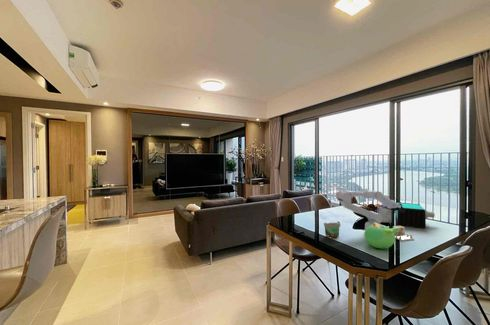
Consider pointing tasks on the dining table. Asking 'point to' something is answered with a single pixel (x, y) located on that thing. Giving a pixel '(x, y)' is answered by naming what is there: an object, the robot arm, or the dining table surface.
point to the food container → (332, 229)
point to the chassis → (404, 237)
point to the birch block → (400, 230)
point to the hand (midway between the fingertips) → (399, 210)
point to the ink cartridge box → (384, 213)
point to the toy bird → (380, 235)
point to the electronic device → (413, 215)
